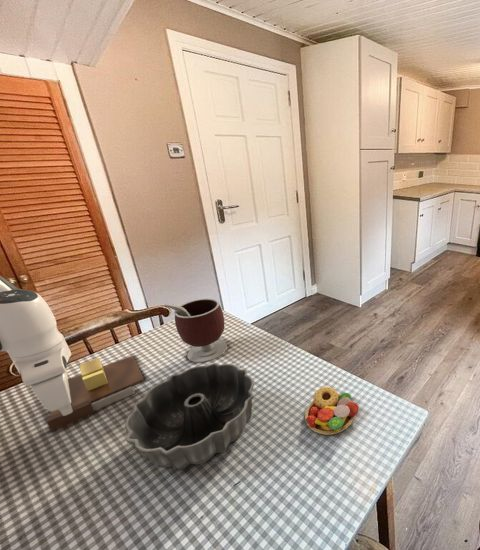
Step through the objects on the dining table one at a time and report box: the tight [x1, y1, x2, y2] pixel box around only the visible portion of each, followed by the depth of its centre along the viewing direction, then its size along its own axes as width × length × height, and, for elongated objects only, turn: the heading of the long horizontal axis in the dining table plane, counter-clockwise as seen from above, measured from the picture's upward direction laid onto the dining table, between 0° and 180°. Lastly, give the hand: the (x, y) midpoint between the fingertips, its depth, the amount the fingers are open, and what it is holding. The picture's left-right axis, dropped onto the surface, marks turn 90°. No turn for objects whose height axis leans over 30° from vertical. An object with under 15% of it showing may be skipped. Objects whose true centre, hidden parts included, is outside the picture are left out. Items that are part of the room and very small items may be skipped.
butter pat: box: [82, 370, 108, 391], centre depth 86 cm, size 4×2×4 cm, turn 135°
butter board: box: [49, 355, 145, 416], centre depth 88 cm, size 20×16×5 cm
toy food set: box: [304, 386, 360, 436], centre depth 78 cm, size 13×13×3 cm
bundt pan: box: [124, 362, 255, 471], centre depth 72 cm, size 26×26×10 cm
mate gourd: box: [164, 298, 228, 363], centre depth 100 cm, size 16×14×20 cm
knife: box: [46, 385, 136, 432], centre depth 79 cm, size 17×2×4 cm, turn 135°
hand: (66, 402), depth 75 cm, fingers open, 8 cm apart
